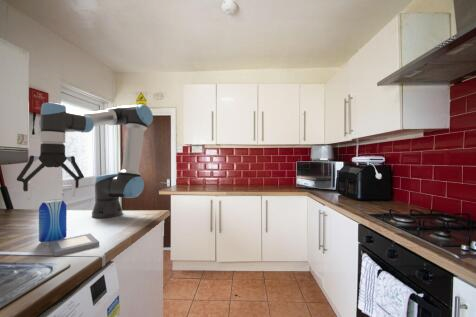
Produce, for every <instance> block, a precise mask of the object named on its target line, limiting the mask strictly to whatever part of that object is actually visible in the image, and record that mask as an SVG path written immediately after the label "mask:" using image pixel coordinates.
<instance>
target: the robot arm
mask: <svg viewBox="0 0 476 317" xmlns="http://www.w3.org/2000/svg"><path fill="white" fill-rule="evenodd" d="M153 119H154V117H153V112H152V110H151V108H150V107H149V106H148V105H146V104H131V105H129V104H128V105H121V106H120V105H119V106H117V107H110V108H109V107H108V108H105V109H104V110H98V111H97V110H96V111H87V112H75V113H74V112H69V111H67V108H66V105H64V104H62V103H56V102H44V103H42V104H41V108H40V119H39V120H38V124H39V127H40V142H41V144H40V145H39V146H40V151H39V152H40V154H39V156H37V155H36V156H35V155H29V156H28V162H27V163H26V164H25V165H24V167H23V168H22V170H21V171H20V173H19V174H18V176H17V178H16V181H17V182H21V183H22V185H23V186H22V191H23V192H26V193H27V194H26V200H27V201H28V202H29V201H31V195H32V194H31V191H32V190H31V187H32V186H31V185H32V183H31V179H33V178H34V177H35V176H36V175H37V174H38V173H39V172H40V171H41V170H43V169H44V168H45V167H46V168H59V167H61V169H63V170H64V171H65V172H66V173H68V174H69V176H70V177H71V178H73V179H72V180H71V197H76V189H79V183H80V182H79V181H80V180H81V179H84V178H85V176H84V174H83V172H82V170H81V169H80V167H79V165H78V164H77V162H76V158H75V156H73V155H71V156H66V145H65V144H66V133H69V132H71V133H72V132H75V133H76V132H78V133H90V132H91V131H92V130H93V129H94V127H98V126H105V125H108V126H125V127H126V128H127V132H126V140H125V146H124V152H123V160H122V166H121V170H120V171H118V173H109V174H101V175H97V176H96V178H95V182H94V183H95V184H94V185H95V202H94V205H93V208H92V212H91V217H92V218H95V219H96V218H97V219H103V218H104V219H105V218H112V217H117V216H121V215H122V214H123V208H122V205H121V201H120V198H123V199H124V198H125V199H130V198H131V199H133V198H134V199H135V198H137V197H139V196H140V195H141V194H142V192H143V191H144V187H145V182H144V179H143V178H142V177H141V176H142V174H141V173H140V171H139V169H140V162H141V155H142V147H143V142H144V133H145V131H147V130H148V126H149V125H151V124H152V123H153V121H154V120H153ZM37 160H39V162H40V163H41V164H39V165H38V166H37V167H36V168H35V169H34V170H32V172H30V173H29V174H28V175H27V176H26V177H25V178H24V176H25V175H26V174H27V172H28V171H29V169H30V168H31V167H32V165H33V164H34V162H37ZM66 161H68V162H70V164H71V166H72V167H73V169H74V172H75V173H76V174H77V175H76V174H75V173H74V172H73V171H72V170H71V169H70V168H69V166H67V165H66V164H65V162H66Z"/></svg>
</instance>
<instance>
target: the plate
mask: <svg viewBox="0 0 476 317" xmlns="http://www.w3.org/2000/svg"><path fill="white" fill-rule="evenodd" d="M49 247H50V249H51V252H52V253H53V255H54V257H59V256H62V255H66V254H71V253H74V252H75V253H76V252H79V251H83V250H87V249H92V248H96V247H100V241H99V240H98V239H97V238H96V237H94V236H93V235H92V234H91V233H86V234H80V235H76V236H75V235H74V236H72V237H71V236H70V237H65V239H60V240H55V241H50V245H49Z"/></svg>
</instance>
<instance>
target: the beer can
mask: <svg viewBox="0 0 476 317" xmlns="http://www.w3.org/2000/svg"><path fill="white" fill-rule="evenodd" d="M67 211H68V210H67V204H66V202H65V201H64V199H63V198H56V199H55V198H54V199H47V200H42V203H41V204H40V206H39V207H38V242H39V243H41V244H40V245H45V246H50V241H55V240H60V239H65V238H67Z"/></svg>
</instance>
